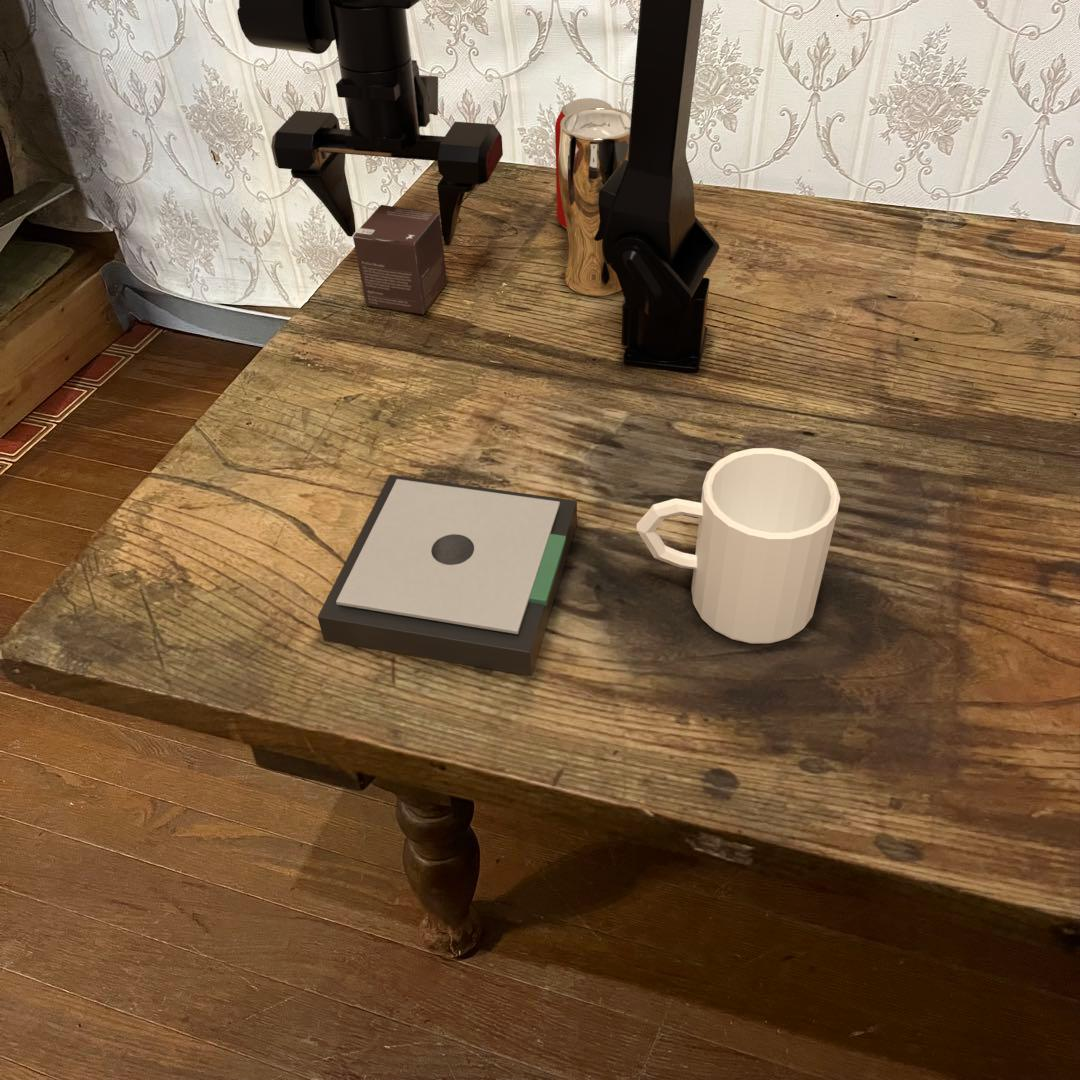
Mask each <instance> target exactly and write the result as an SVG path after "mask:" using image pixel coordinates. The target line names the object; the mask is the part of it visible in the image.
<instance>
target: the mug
mask: <svg viewBox="0 0 1080 1080" xmlns="http://www.w3.org/2000/svg"><path fill="white" fill-rule="evenodd" d="M840 501H841V495H840V491H839V487H838V485H837V483H836V481H835V480H834V478H832V476H831V475H830V474H829V472H828V471H827V470H826V469H824V468H823V467H822V466H820V464H817V462H815V461H814V460H812V459H810V458H808V457H806V456H804V455H801V454H799V453H797V452H794V451H791V450H786V449H780V448H776V447H775V448H774V447H753V448H752V447H751V448H748V449H743V450H740V451H735V452H732V453H730V454H728V455H726V456H725V457H723V458H720V459H719V460H717V461H716V462H715V463H713V465H712V466H711V468H710V469H708V471H706V475H705V478H704V481H703V484H702V489H701V499H700V502H698V501H694V500H687V499H682V498H676V497H675V498H671V499H668V500H665V501H661V502H657V503H653V504H652V505H651V506H650V508H649V509H648V510H647V511H646V513H644V515H643V516H642V517H641V519H639V521H638V522H637V523H636V524H635V526H636V531H637V533H638V535H639V536H640V537H641V540H642V541H643V543H644V544H645V546H646V547H647V549H648V551H649V552H650V554H651V555H652V557H653V558H654V559H656V560H659V561H661V562H664V563H667V564H669V565H671V566H674V567H677V568H678V569H679V568H680V569H688V570H692V571H693V572H692V579H691V588H690V589H691V596H692V597H691V598H692V604H693V606H694V608H695V610H696V611H697V613H698V615H699V617H700V619H701V620H702V621H703V622H704V623H706V624H707V625H708V626H709V627H710V628H711V629H712V630H713V631H715V632H717V633H718V634H720V635H722V636H724V637H727V638H728V639H730V640H734V641H737V642H740V643H741V642H742V643H746V644H752V645H753V644H754V645H759V644H761V645H762V644H766V645H767V644H774V643H777V642H781V641H785V640H788V639H790V638H792V637H794V636H795V635H796V634H798V633H799V632H801V631H803V630H804V629H805V627H806V626H807V625H808V624H809V622H810V621H811V620H812V618H813V616H814V612H815V608H816V604H817V600H818V596H819V591H820V587H821V583H822V579H823V575H824V570H825V565H826V562H827V558H828V553H829V549H830V546H831V542H832V541H831V540H832V537H833V532H834V529H835V525H836V520H837V516H838V512H839V507H840ZM681 516H687V517H692V518H693V517H694V518H698V525H697V526H698V527H697V535H696V544H695V553H694V554H692V553H687V552H682V551H680V550H677V549H675V548H672V547H670V546H668V545H666V544H665V543H664V541H663V540H662V538H661V536H660V535H659V533H658V532H657V530H656V529H658V527H660V525H661V524H662V523H663V522H664V520H668V519H671V518H672V519H673V518H676V517H681Z"/></svg>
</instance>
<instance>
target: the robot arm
mask: <svg viewBox="0 0 1080 1080" xmlns="http://www.w3.org/2000/svg"><path fill="white" fill-rule="evenodd" d="M419 2H421V0H238V8H237V12H236V14H237V19H238V23H239V26H240V29H241V32H242V33H243V35H244V37H245V38H246V40H247V41H248V42H249V43H250V44H252V45H254V46H256V47H260V48H261V47H262V48H269V49H275V50H282V51H292V52H297V53H306V54H315V55H321V54H324V53H325V52H326V51H328V49H329V48H330V46H331V45H332V42H334V41H335V46H336V52H337V53H336V54H337V60H338V65H339V70H340V71H339V72H340V77H341V78H340V79H339V80H338V81H337V83H336V84H335V88H336V93H337V98H341V99H344V102H345V107H346V114H347V121H348V127H349V129H345V128H341V126H340V120H339V118H338V116H336V115H335V113H334V112H325V111H313V110H312V111H311V110H295V112H294V113H292V115H291V116H289V118H288V119H287V120H286V121H285V122H284V123H283V124H282V125H281V126H280V127H279V128H278V129H277V130H276V131H275V132H274V134H273V135H272V139H271V145H270V146H271V153H272V156H273V161H274V166H276V168H278V169H283V170H290V175H291V177H292V178H293V179H299V180H301V181H302V182H303V183H304V185H305V186H307V187H308V189H310V191H311V192H312V193H313V194H314V195H315V196H316V197H317V198H318V199H319V201H320V202H321V203H322V204H323V206H324V207H325V208H326V209H327V211H328V212H329V213H330V215H331V216H332V217H333V219H334V220H335V221H336V223H337V225H339V226H340V229H342V231H343V232H344V233H345V235H346V236H347V237H350V238H351V237H352V238H353V236H354V235H355V233H356V232H357V230H356V229H357V228H356V220H355V219H356V218H355V212H354V208H353V207H354V206H353V202H352V199H351V192H350V189H349V183H348V179H347V175H346V155H353V156H355V155H356V156H369V157H381V158H393V159H394V158H395V159H407V160H420V161H421V160H422V161H431V162H432V161H433V162H437V168H438V173H439V174H440V176H441V178H440V180H439V181H438V183H437V184H436V188H437V198H438V207H439V216H440V225H441V232H442V240H443V244H444V245H445V246H446V247H450V246H451V244H452V243H453V240H454V236H455V233H456V229H457V224H458V220H459V216H460V213H461V210H462V209H461V207H462V204H463V201H464V197H465V196H466V195H465V194H466V193H470V192H472V191H474V189H475V188H476V187H477V185H481V184H485V183H488V181H490V178H491V176H492V174H493V173H494V171H495V169H496V168H497V166H498V164H499V163H500V161H501V159H502V157H503V155H504V152H503V151H504V149H503V136H502V134H501V133H500V131H499V130H498V128H497V127H496V125H495V124H494V123H482V122H467V121H466V122H465V121H454V122H453V123H452V126H451V127H450V128H449V130H447V132H446V133H445V135H444V136H443V135H431V134H430V135H429V134H421V131H420V128H426V127H427V126H428V125H429V124H430V122H431V117H430V115H433V116H438V115H439V76H437V75H427V74H426V75H425V74H424V75H423V74H420V67H419V65H418V60H416V59H412V53H411V44H410V36H409V26H408V18H407V10H409V9H411V8H412V7H413V6H415V5H416V4H417V3H419ZM704 4H705V0H639V13H638V14H639V15H638V26H637V39H636V50H635V63H634V75H633V88H632V101H631V113H630V114H631V125H630V137H629V150H628V160H625V159H624V160H623V161H622V163H621V164H620V165H619V166H618V168H617V169H616V170H615V172H614V173H613V174H612V175H611V177H610V178H609V179H608V181H607V182H606V183H605V185H604V186H603V187H602V188H601V190H600V191H599V200H598V205H599V214H600V224H599V229H598V232H597V233H596V235H595V237H594V239H595V241H599V240H602V239H603V241H602V253H603V257H604V260H605V262H606V264H608V265H610V266H611V268H612V269H613V270H614V271H615V272H616V274H617V277H618V280H619V283H620V286H621V289H622V290H621V292H622V294H623V297H624V299H623V302H622V306H621V332H620V333H621V335H620V344H621V346H623V347H625V349H624V353H623V356H622V362H623V364H624V365H628V366H636V367H645V368H654V369H663V370H671V371H681V372H689V373H696V372H699V371H700V368H701V363H702V358H703V353H704V349H705V344H706V341H707V335H708V327H707V326H706V322H707V314H708V313H707V312H708V302H709V293H710V281H711V280H710V278H708V277H705V275H706V273H707V271H708V269H709V268H710V267H711V266H712V263H713V262H714V259H715V258H716V256H717V254H718V252H719V250H720V244H719V243H718V242H717V240H716V239H715V238H714V236H713V235H712V234H711V233H710V232H709V231H708V230H707V228H706V227H705V226H704V225H703V224H702V222H701V221H700V220H699V219H698V218H697V216H696V209H695V189H694V187H695V186H694V185H695V184H694V179H693V176H692V174H691V169H690V166H689V163H688V160H687V144H688V136H689V135H688V134H689V128H690V118H691V113H692V112H691V110H692V102H693V95H694V87H695V86H694V85H695V77H696V69H697V63H698V53H699V45H700V37H701V29H702V21H703V20H702V19H703V12H704Z"/></svg>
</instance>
